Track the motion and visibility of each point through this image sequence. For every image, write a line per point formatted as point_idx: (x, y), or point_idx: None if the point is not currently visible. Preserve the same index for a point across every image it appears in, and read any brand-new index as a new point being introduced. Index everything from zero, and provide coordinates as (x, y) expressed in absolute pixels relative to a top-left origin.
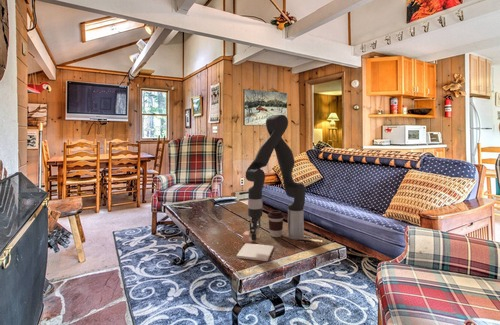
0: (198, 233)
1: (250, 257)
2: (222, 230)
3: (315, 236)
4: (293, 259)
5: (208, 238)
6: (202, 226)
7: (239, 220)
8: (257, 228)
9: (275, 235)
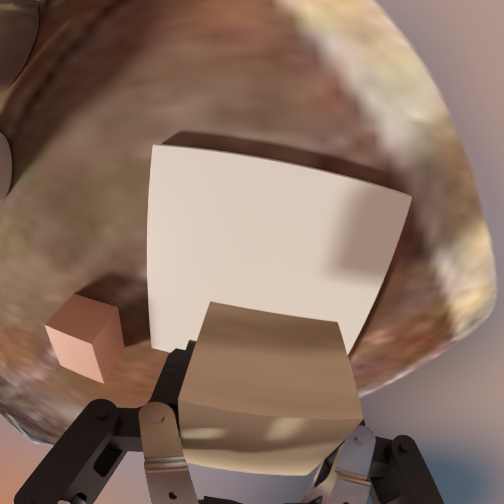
0: None
1: (369, 309)
2: (60, 396)
3: None
4: (363, 7)
5: None
6: None
7: None
8: (337, 478)
9: (4, 164)
